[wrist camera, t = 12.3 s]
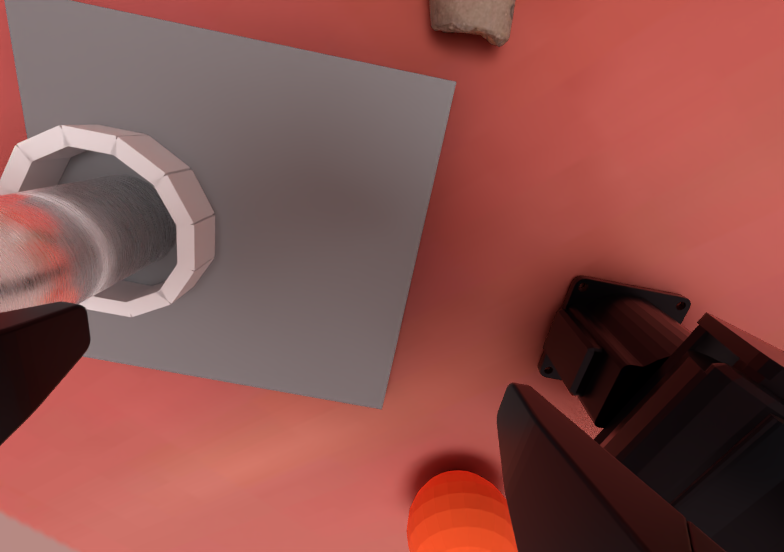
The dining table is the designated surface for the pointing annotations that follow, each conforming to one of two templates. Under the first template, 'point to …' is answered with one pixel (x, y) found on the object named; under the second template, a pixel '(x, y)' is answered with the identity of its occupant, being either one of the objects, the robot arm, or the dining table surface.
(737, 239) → the dining table surface
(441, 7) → the pipe
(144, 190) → the chrome ball-end rod
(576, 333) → the robot arm
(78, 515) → the dining table surface
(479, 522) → the clementine
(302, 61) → the duct flange
